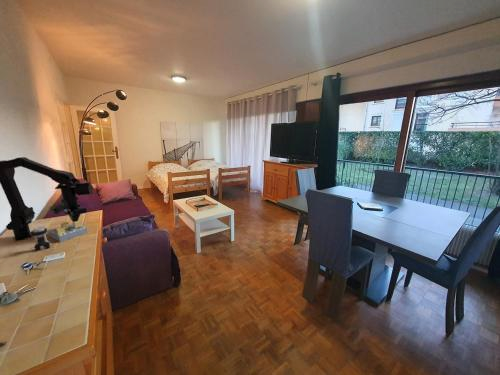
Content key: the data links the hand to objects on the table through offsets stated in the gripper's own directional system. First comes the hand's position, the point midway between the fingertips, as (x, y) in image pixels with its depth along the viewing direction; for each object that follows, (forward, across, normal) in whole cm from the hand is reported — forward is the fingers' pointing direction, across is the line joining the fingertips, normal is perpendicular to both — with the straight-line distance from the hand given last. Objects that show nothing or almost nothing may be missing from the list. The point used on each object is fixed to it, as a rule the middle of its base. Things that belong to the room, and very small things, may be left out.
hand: (75, 223), depth 114 cm
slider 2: (+1, -1, -4) cm, 4 cm away
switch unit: (+4, +1, -4) cm, 6 cm away
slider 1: (+1, +5, -8) cm, 10 cm away
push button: (+5, +9, -17) cm, 20 cm away
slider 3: (+1, +2, 0) cm, 3 cm away
